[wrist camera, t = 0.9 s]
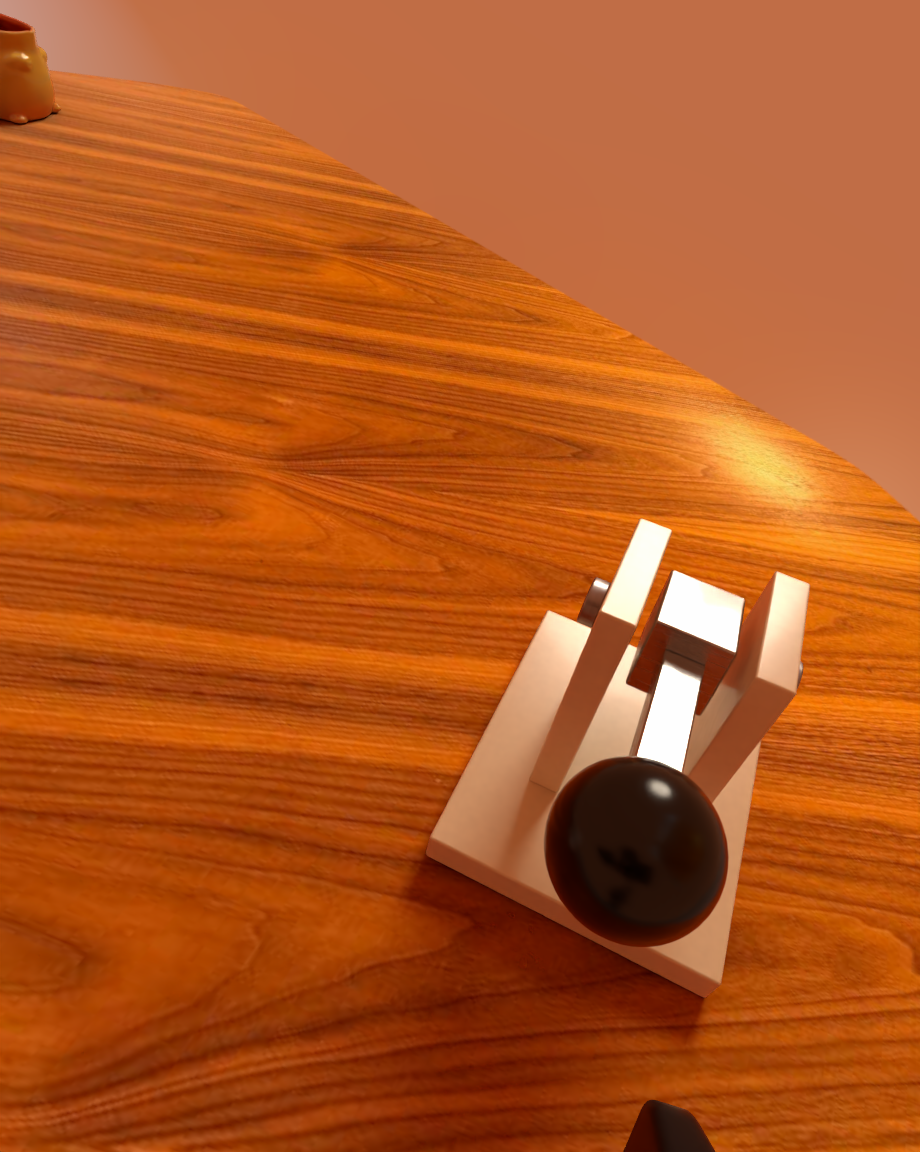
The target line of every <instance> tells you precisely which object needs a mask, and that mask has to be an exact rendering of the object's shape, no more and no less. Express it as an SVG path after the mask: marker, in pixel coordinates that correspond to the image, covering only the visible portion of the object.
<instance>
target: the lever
mask: <svg viewBox="0 0 920 1152" xmlns="http://www.w3.org/2000/svg"><path fill="white" fill-rule="evenodd" d="M744 607H745V599H744V598H742V597H739V596H737V595H734V594H732V593H729V592H727V591H724V590H722V589H719V588H717V587H714V586H712V585H709V584H707V583H704V582H702V581H699V580H697V579H694V578H692V577H689V576H687V575H684V574H682V573H680V572H677V571H675V570H672V571H671V572H670V574H669V577H668V579H667V581H666V583H665V585H664V587H663V589H662V591H661V593H660V596H659V598H658V600H657V602H656V604H655V606H654V608H653V610H652V612H651V615H650V617H649V619H648V621H647V623H646V625H645V627H644V629H643V632H642V635H641V638H640V641H639V644H638V647H637V650H636V653H635V655H634V658H633V661H632V664H631V667H630V670H629V673H628V676H627V679H626V684H627V685H629V686H631V687H633V688H636V689H638V690H640V691H642V692H645V693H647V695H646V698H645V702H644V705H643V709H642V712H641V715H640V719H639V722H638V725H637V729H636V732H635V735H634V739H633V742H632V745H631V749H630V752H629V756H618V757H612V758H607V759H604V760H600V761H598V762H596V763H594V764H591V765H589V766H587V767H586V768H584V769H583V770H581V771H580V772H578V773H577V774H576V775H574V776H573V777H572V778H571V779H570V780H569V781H568V782H567V783H566V784H565V785H564V787H563V788H562V789H561V791H560V792H559V793H558V795H557V797H556V798H555V800H554V802H553V804H552V806H551V809H550V812H549V815H548V818H547V821H546V826H545V834H544V856H545V862H546V867H547V871H548V874H549V877H550V880H551V883H552V885H553V887H554V890H555V892H556V893H557V895H558V897H559V899H560V900H561V902H562V903H563V904H564V906H565V907H566V908H567V910H568V911H569V912H570V913H571V914H572V915H573V916H574V918H575V919H577V920H578V921H579V922H580V923H581V924H582V925H583V926H585V927H586V928H587V929H589V930H590V931H592V932H593V933H595V934H597V935H598V936H600V937H603V938H605V939H607V940H609V941H612V942H615V943H618V944H621V945H626V946H631V947H654V946H661V945H664V944H668V943H671V942H674V941H677V940H679V939H681V938H683V937H685V936H686V935H688V934H690V933H691V932H693V931H694V930H695V929H697V928H698V927H699V926H700V925H701V924H702V923H703V922H704V921H705V920H706V919H707V918H708V917H709V916H710V914H711V913H712V911H713V910H714V908H715V906H716V905H717V903H718V901H719V899H720V897H721V895H722V892H723V889H724V886H725V883H726V878H727V873H728V860H729V856H728V845H727V839H726V835H725V831H724V828H723V825H722V822H721V819H720V817H719V815H718V813H717V811H716V809H715V807H714V806H713V804H712V803H711V801H710V799H709V798H708V796H707V795H706V794H705V793H704V791H703V790H702V789H701V788H700V787H699V786H698V785H697V784H696V783H695V782H694V781H693V780H691V779H690V778H689V777H688V776H686V775H685V774H684V773H683V772H684V767H685V762H686V757H687V752H688V747H689V743H690V738H691V733H692V728H693V723H694V718H695V715H697V716H701V715H702V714H703V712H704V710H705V709H706V707H707V705H708V704H709V702H710V700H711V699H712V697H713V695H714V693H715V692H716V690H717V688H718V687H719V685H720V683H721V682H722V680H723V678H724V676H725V675H726V673H727V671H728V670H729V668H730V666H731V665H732V663H733V661H734V659H735V658H736V656H737V653H738V646H739V639H740V633H741V626H742V620H743V613H744Z"/></svg>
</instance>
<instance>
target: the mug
mask: <svg viewBox="0 0 920 1152" xmlns="http://www.w3.org/2000/svg"><path fill="white" fill-rule="evenodd" d="M60 110H61V107H60V106H59V105H58V104H56V103H55V93H54V87H53V83H52V79H51V76H50V72H49V69H48V66H47V54H46V52H45V51H44V50H43V49H42V48H41V47H39V46H38V45H37V41H36V35H35V29H34V28H33V27H32V26H30V25H28V24H26V23H24V22H22V21H19V20H17V19H14V18H11V17H9V16H6V15H3V14H0V119H4V120H9V121H12V122H14V123H27V122H28V121H29V120H36V119H41V118H44V117H47V116H48V115H50V114H51V113H52V112H58V111H60Z"/></svg>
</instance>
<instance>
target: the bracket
mask: <svg viewBox="0 0 920 1152" xmlns="http://www.w3.org/2000/svg"><path fill="white" fill-rule="evenodd" d="M671 534H672V530H670V529H667V528H665V527H662V526H660V525H657V524H655V523H652V522H649V521H647V520H644V519H639V521H638V524H637V526H636V528H635V530H634V533H633V535H632V537H631V540H630V542H629V544H628V546H627V549H626V551H625V553H624V555H623V558H622V560H621V562H620V565H619V567H618V569H617V571H616V574H615V576H614V578H613V580H612V583H609V582H607V581H604V580H602V579H600V578H595V579H594V581H593V583H592V585H591V587H590V589H589V591H588V594H587V596H586V598H585V601H584V603H583V605H582V608H581V610H580V613H579V615H578V618H577V622H575V621H573V620H571V619H568V618H566V617H564V616H561V615H559V614H557V613H554V612H552V611H549V610H548V611H547V612H546V614H545V616H544V617H543V619H542V621H541V623H540V625H539V627H538V629H537V631H536V633H535V635H534V637H533V639H532V641H531V643H530V645H529V646H528V648H527V650H526V652H525V654H524V656H523V658H522V660H521V662H520V664H519V666H518V668H517V670H516V672H515V673H514V675H513V677H512V679H511V681H510V683H509V685H508V687H507V689H506V691H505V693H504V695H503V697H502V699H501V700H500V702H499V704H498V706H497V708H496V710H495V712H494V714H493V716H492V718H491V720H490V722H489V724H488V726H487V727H486V729H485V731H484V733H483V735H482V737H481V739H480V741H479V743H478V745H477V747H476V749H475V751H474V753H473V755H472V756H471V758H470V760H469V762H468V764H467V766H466V768H465V770H464V772H463V774H462V776H461V778H460V780H459V782H458V783H457V785H456V787H455V789H454V791H453V793H452V795H451V797H450V799H449V801H448V803H447V805H446V807H445V809H444V810H443V812H442V814H441V816H440V818H439V820H438V822H437V824H436V826H435V828H434V830H433V832H432V834H431V836H430V838H429V842H428V846H427V850H426V855H427V856H428V857H430V858H432V859H434V860H436V861H438V862H440V863H442V864H444V865H446V866H448V867H450V868H452V869H454V870H456V871H458V872H460V873H461V874H463V875H465V876H467V877H469V878H471V879H473V880H475V881H477V882H479V883H481V884H483V885H485V886H487V887H489V888H491V889H493V890H495V891H497V892H498V893H500V894H502V895H504V896H506V897H508V898H510V899H512V900H514V901H516V902H518V903H520V904H522V905H524V906H526V907H528V908H530V909H532V910H534V911H535V912H537V913H539V914H541V915H543V916H545V917H547V918H549V919H551V920H553V921H555V922H557V923H559V924H561V925H563V926H565V927H567V928H569V929H571V930H572V931H574V932H576V933H578V934H580V935H582V936H584V937H586V938H588V939H590V940H592V941H594V942H596V943H598V944H600V945H602V946H604V947H606V948H608V949H609V950H611V951H613V952H615V953H617V954H619V955H621V956H623V957H625V958H627V959H629V960H631V961H633V962H635V963H637V964H639V965H641V966H643V967H645V968H646V969H648V970H650V971H652V972H654V973H656V974H658V975H660V976H662V977H664V978H666V979H668V980H670V981H672V982H674V983H676V984H678V985H680V986H682V987H683V988H685V989H687V990H689V991H691V992H693V993H695V994H697V995H699V996H701V997H703V998H706V997H707V996H708V995H709V994H711V993H712V992H713V991H714V990H715V989H716V988H718V987H719V986H720V985H721V981H722V975H723V969H724V962H725V956H726V950H727V944H728V938H729V932H730V926H731V920H732V914H733V908H734V902H735V896H736V890H737V884H738V878H739V871H740V865H741V859H742V853H743V847H744V841H745V835H746V829H747V823H748V817H749V811H750V805H751V799H752V793H753V787H754V780H755V774H756V768H757V762H758V756H759V750H760V744H761V739H762V738H763V737H764V735H765V734H766V733H767V732H768V730H769V729H770V728H771V726H772V725H773V724H774V722H775V721H776V720H777V719H778V717H779V716H780V715H781V713H782V712H783V711H784V709H785V708H786V707H787V706H788V704H789V703H790V702H791V700H792V699H793V698H794V696H795V695H796V691H797V688H798V686H799V684H800V681H801V677H802V673H803V663H802V662H801V661H800V660H801V652H802V644H803V636H804V629H805V621H806V613H807V605H808V597H809V590H810V585H809V584H808V583H805V582H803V581H800V580H798V579H795V578H793V577H790V576H787V575H785V574H782V573H780V572H775V573H774V574H773V576H772V578H771V579H770V581H769V583H768V584H767V586H766V587H765V589H764V591H763V592H762V594H761V595H760V597H759V599H758V600H757V602H756V603H755V605H754V607H753V608H752V610H751V611H750V613H749V615H748V616H747V618H746V619H745V621H744V623H743V624H742V626H741V633H740V639H739V646H738V653H737V656H736V658H735V659H734V661H733V663H732V665H731V666H730V668H729V670H728V671H727V673H726V675H725V676H724V678H723V680H722V682H721V683H720V685H719V687H718V688H717V690H716V692H715V693H714V695H713V697H712V699H711V700H710V702H709V704H708V705H707V707H706V709H705V710H704V712H703V714H702V715H701V716H697V715H695V718H694V723H693V728H692V733H691V738H690V743H689V747H688V752H687V757H686V762H685V767H684V772H683V773H684V774H685V775H686V776H688V777H689V778H690V779H691V780H693V781H694V782H695V783H696V784H697V785H698V786H699V787H700V788H701V789H702V790H703V791H704V793H705V794H706V795H707V796H708V798H709V799H710V801H711V803H712V804H713V806H714V807H715V809H716V811H717V813H718V815H719V817H720V819H721V822H722V825H723V828H724V831H725V835H726V839H727V845H728V856H729V860H728V873H727V878H726V883H725V886H724V889H723V892H722V895H721V897H720V899H719V901H718V903H717V905H716V906H715V908H714V910H713V911H712V913H711V914H710V916H709V917H708V918H707V919H706V920H705V921H704V922H703V923H702V924H701V925H700V926H699V927H698V928H697V929H695V930H694V931H693V932H691V933H690V934H688V935H686V936H685V937H683V938H681V939H679V940H677V941H674V942H671V943H668V944H664V945H661V946H654V947H631V946H626V945H621V944H618V943H615V942H612V941H609V940H607V939H605V938H603V937H600V936H598V935H597V934H595V933H593V932H592V931H590V930H589V929H587V928H586V927H585V926H583V925H582V924H581V923H580V922H579V921H578V920H577V919H575V918H574V916H573V915H572V914H571V913H570V912H569V911H568V910H567V908H566V907H565V906H564V904H563V903H562V902H561V900H560V899H559V897H558V895H557V893H556V892H555V890H554V887H553V885H552V883H551V880H550V877H549V874H548V871H547V867H546V862H545V856H544V834H545V826H546V821H547V818H548V815H549V812H550V809H551V806H552V804H553V802H554V800H555V798H556V797H557V795H558V793H559V792H560V791H561V789H562V788H563V787H564V785H565V784H566V783H567V782H568V781H569V780H570V779H571V778H572V777H573V776H574V775H576V774H577V773H578V772H580V771H581V770H583V769H584V768H586V767H587V766H589V765H591V764H594V763H596V762H598V761H600V760H604V759H607V758H612V757H618V756H629V752H630V749H631V745H632V742H633V739H634V735H635V732H636V729H637V725H638V722H639V719H640V715H641V712H642V709H643V705H644V702H645V698H646V695H647V693H645V692H642V691H640V690H638V689H636V688H633V687H631V686H629V685H627V684H626V679H627V676H628V673H629V670H630V667H631V664H632V661H633V658H634V655H635V653H636V650H637V648H636V647H634V646H632V645H629V642H630V640H631V638H632V636H633V634H634V632H635V630H636V628H637V625H638V622H639V620H640V617H641V614H642V612H643V609H644V606H645V604H646V601H647V598H648V596H649V593H650V590H651V588H652V585H653V582H654V580H655V577H656V574H657V572H658V569H659V566H660V564H661V561H662V558H663V556H664V553H665V550H666V548H667V545H668V542H669V540H670V537H671ZM578 622H579V623H578ZM580 623H581V624H580ZM582 624H583V625H582ZM585 625H586V626H585ZM587 626H588V627H587ZM589 627H590V628H589Z"/></svg>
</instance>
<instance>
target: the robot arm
mask: <svg viewBox="0 0 920 1152" xmlns="http://www.w3.org/2000/svg"><path fill="white" fill-rule="evenodd" d="M624 1152H715V1150H714V1148H713V1147H712V1145H711V1143H710V1142H709V1140H708V1138H707V1136H706V1135H705V1133H704V1131H703V1130H702V1128H701V1126H700V1124H699V1123H698V1121H697V1120H696V1118H695V1117H694V1116H693V1115H692V1114H691V1113H690V1112H689V1111H687V1110H685V1109H682V1108H679V1107H676V1106H673V1105H669V1104H666V1103H663V1102H660V1101H657V1100H649V1101H647V1102H646V1103H645V1104H644V1106H643V1107H642V1109H641V1111H640V1113H639V1116H638V1118H637V1121H636V1123H635V1125H634V1128H633V1130H632V1132H631V1135H630V1137H629V1140H628V1142H627V1144H626V1147H625V1149H624Z"/></svg>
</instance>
